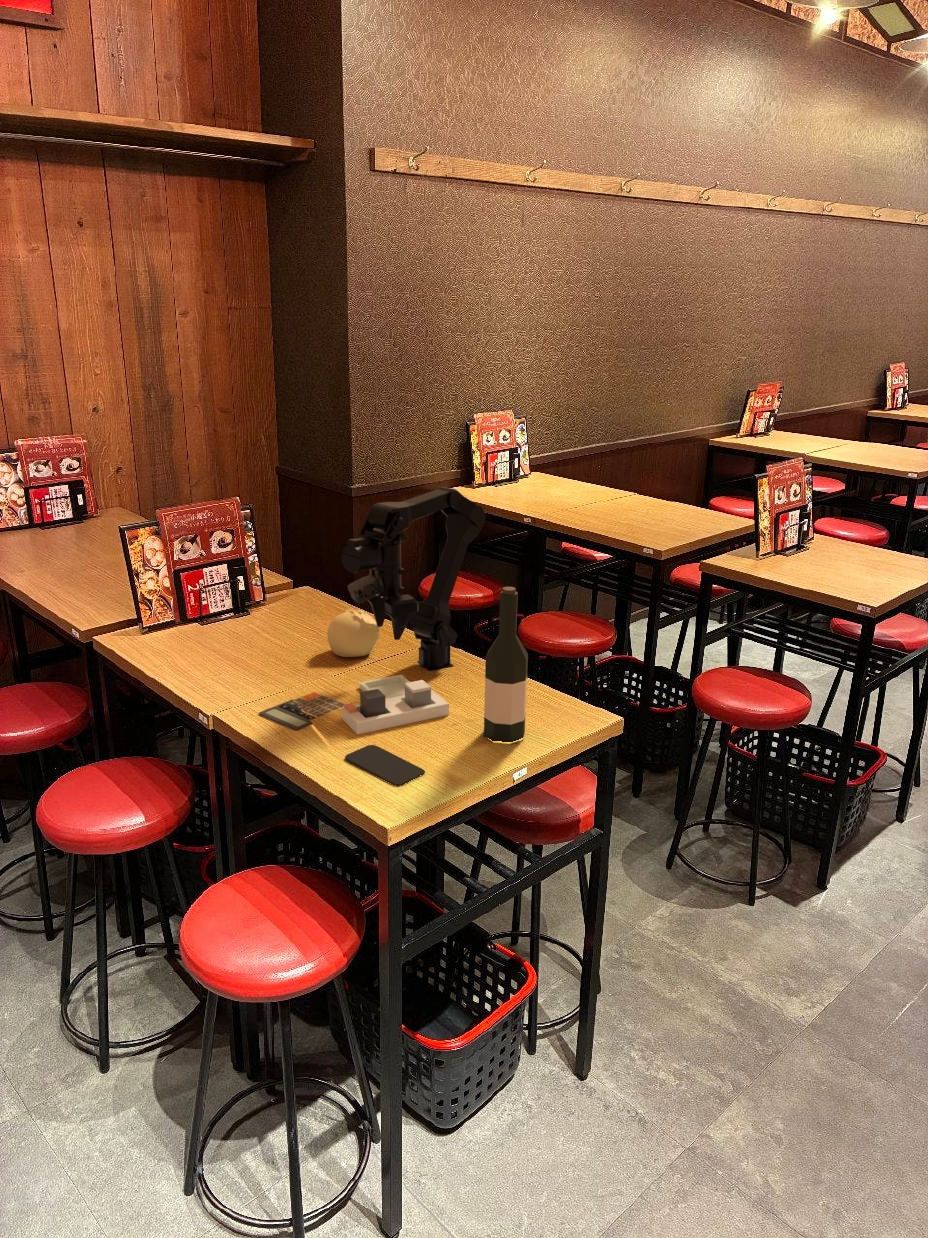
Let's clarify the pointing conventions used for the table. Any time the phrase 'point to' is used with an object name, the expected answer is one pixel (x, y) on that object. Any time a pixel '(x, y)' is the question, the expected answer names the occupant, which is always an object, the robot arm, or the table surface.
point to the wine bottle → (506, 676)
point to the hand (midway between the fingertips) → (388, 633)
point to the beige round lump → (352, 634)
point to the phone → (384, 765)
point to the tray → (386, 685)
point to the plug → (417, 694)
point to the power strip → (389, 711)
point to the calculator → (299, 711)
